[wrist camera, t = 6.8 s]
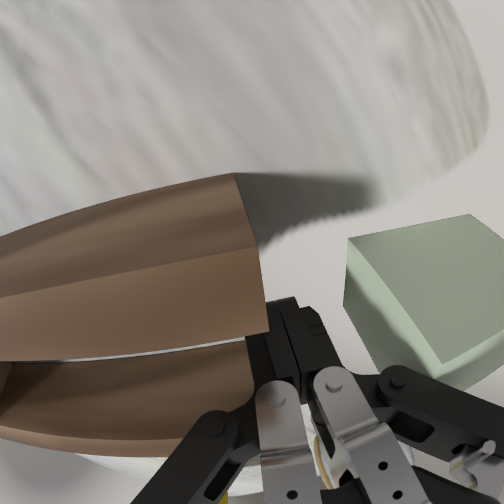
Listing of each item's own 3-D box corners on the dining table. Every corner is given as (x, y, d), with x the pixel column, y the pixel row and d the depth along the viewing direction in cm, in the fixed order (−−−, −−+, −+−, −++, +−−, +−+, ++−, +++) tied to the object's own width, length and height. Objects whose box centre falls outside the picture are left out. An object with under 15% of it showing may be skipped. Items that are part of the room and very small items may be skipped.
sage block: (348, 238, 12) (442, 364, 6) (469, 213, 13) (557, 289, 7) (343, 305, 14) (403, 422, 9) (454, 271, 15) (522, 349, 9)
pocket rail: (-69, 267, 9) (-108, 320, 5) (232, 172, 10) (257, 246, 6) (16, 384, 15) (0, 437, 11) (265, 364, 16) (284, 441, 12)
